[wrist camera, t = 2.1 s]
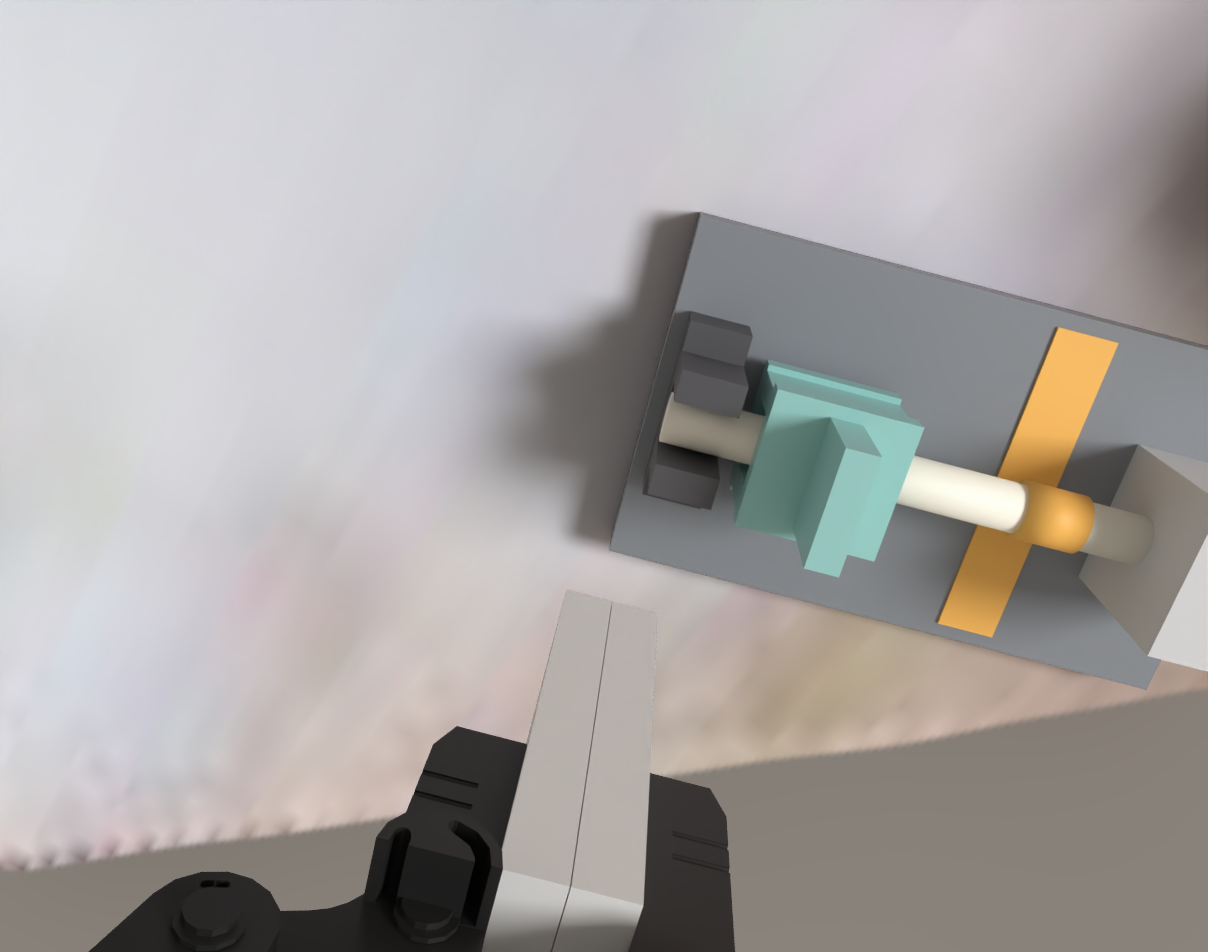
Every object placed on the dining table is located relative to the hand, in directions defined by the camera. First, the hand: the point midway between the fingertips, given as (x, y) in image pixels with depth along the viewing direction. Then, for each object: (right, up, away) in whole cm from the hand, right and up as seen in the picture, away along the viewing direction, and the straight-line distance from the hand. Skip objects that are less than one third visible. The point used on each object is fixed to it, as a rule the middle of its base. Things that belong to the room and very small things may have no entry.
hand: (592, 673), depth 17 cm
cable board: (+12, +4, +19) cm, 23 cm away
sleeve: (+7, +5, +17) cm, 19 cm away
